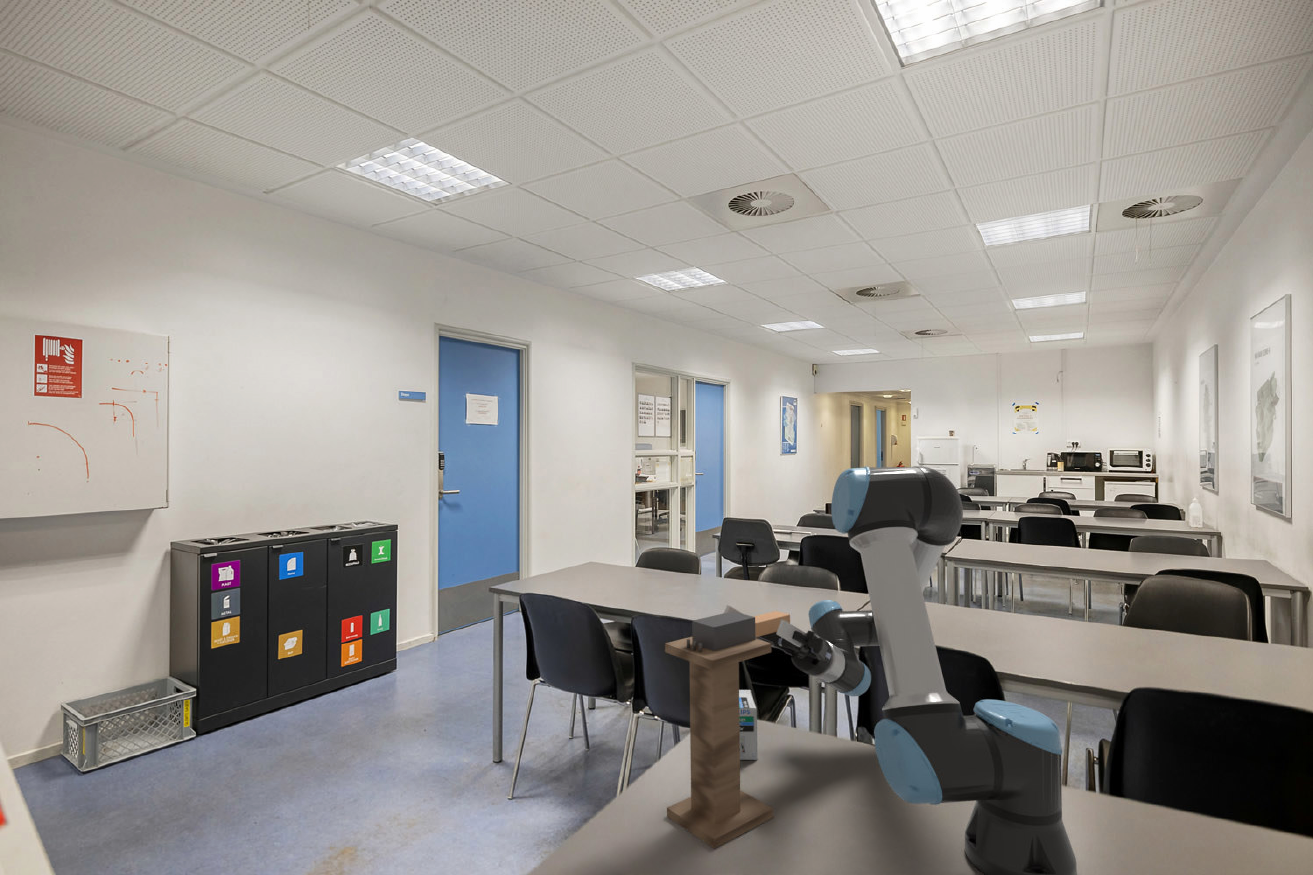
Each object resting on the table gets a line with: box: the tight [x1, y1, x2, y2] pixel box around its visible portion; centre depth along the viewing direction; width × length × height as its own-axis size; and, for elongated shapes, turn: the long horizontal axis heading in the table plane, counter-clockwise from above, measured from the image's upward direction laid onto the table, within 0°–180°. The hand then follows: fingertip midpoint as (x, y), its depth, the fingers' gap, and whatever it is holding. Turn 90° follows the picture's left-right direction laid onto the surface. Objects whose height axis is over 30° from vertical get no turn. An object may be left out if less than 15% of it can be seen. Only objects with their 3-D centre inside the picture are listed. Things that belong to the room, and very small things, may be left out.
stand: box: [664, 636, 774, 849], centre depth 116 cm, size 12×14×31 cm
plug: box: [691, 610, 791, 651], centre depth 120 cm, size 6×20×4 cm, turn 128°
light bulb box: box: [739, 689, 759, 761], centre depth 141 cm, size 11×7×11 cm, turn 179°
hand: (751, 619), depth 121 cm, fingers open, 13 cm apart
